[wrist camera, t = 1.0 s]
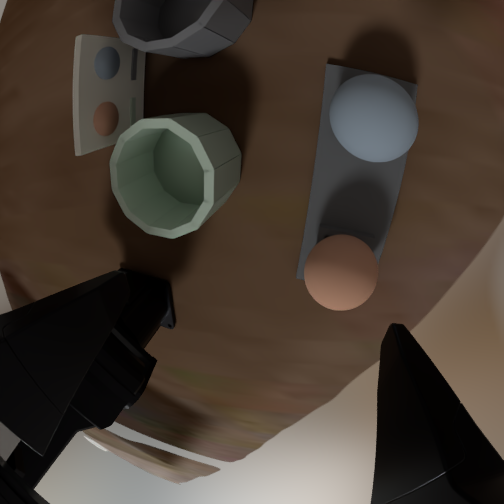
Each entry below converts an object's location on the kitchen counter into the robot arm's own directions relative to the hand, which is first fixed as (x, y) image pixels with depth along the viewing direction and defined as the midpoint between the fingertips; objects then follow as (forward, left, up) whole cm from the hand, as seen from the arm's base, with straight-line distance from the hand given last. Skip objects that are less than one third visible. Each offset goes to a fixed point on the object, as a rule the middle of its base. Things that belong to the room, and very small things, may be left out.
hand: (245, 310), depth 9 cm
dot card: (+7, +13, -13) cm, 19 cm away
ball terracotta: (-4, -4, -12) cm, 13 cm away
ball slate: (+6, -4, -12) cm, 14 cm away
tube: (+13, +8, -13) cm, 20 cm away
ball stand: (+1, -4, -13) cm, 13 cm away
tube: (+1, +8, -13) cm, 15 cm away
